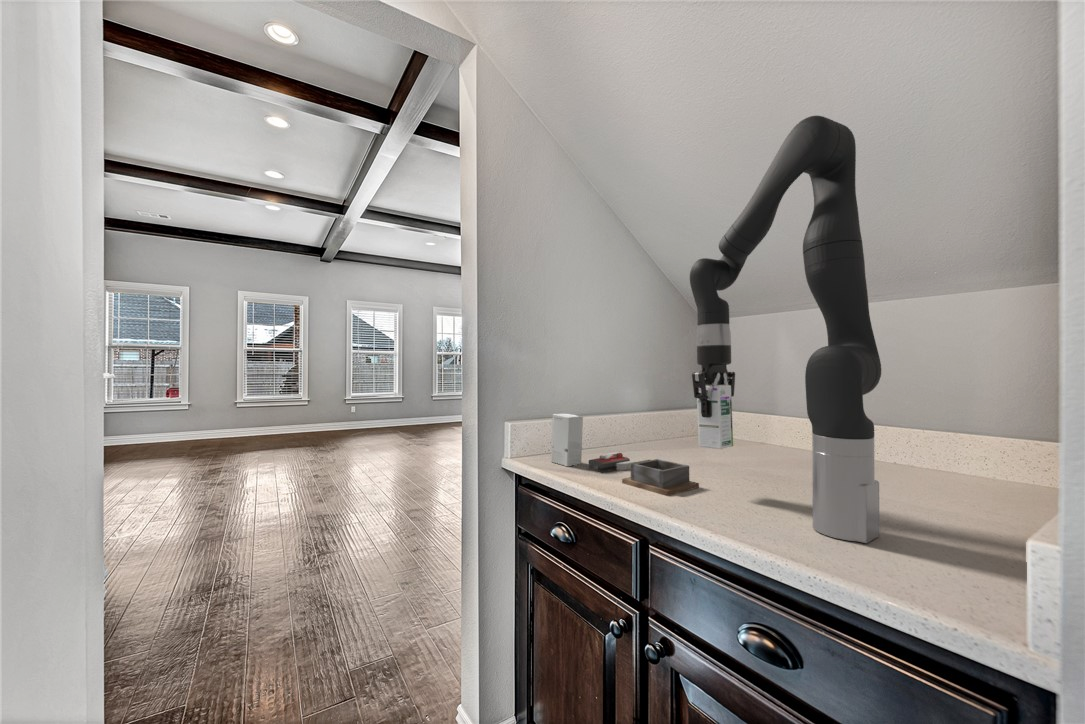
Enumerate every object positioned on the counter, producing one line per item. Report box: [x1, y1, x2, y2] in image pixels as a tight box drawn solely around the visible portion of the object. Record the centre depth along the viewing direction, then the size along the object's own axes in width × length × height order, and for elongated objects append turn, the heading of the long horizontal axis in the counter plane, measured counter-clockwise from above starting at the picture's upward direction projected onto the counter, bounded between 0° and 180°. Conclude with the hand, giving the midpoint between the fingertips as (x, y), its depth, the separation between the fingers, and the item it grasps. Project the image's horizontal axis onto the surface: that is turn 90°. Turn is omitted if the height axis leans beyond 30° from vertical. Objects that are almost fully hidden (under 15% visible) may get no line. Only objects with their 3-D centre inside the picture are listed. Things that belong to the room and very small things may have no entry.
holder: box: [621, 458, 700, 496], centre depth 112 cm, size 14×12×5 cm
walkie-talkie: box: [588, 451, 650, 473], centre depth 132 cm, size 9×4×20 cm
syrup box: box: [696, 385, 734, 450], centre depth 105 cm, size 6×6×14 cm
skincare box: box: [550, 413, 584, 467], centre depth 137 cm, size 8×6×15 cm
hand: (715, 416), depth 105 cm, fingers closed on syrup box, 6 cm apart
